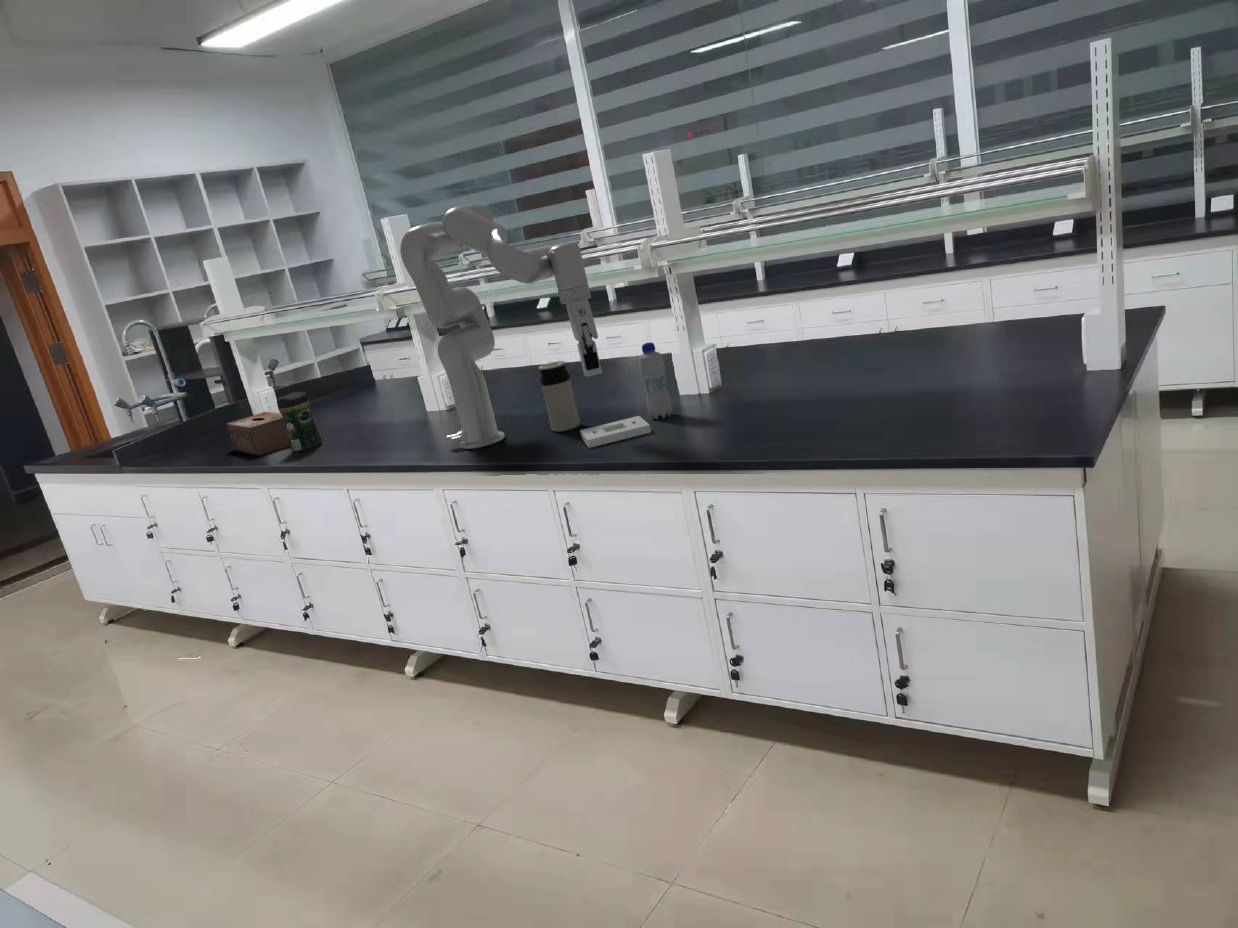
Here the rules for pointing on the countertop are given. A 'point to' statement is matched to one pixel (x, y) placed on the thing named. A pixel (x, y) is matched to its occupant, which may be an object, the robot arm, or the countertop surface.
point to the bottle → (654, 382)
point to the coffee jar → (299, 421)
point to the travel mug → (559, 396)
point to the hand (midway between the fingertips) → (591, 367)
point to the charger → (581, 353)
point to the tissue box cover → (259, 433)
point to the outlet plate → (615, 431)
